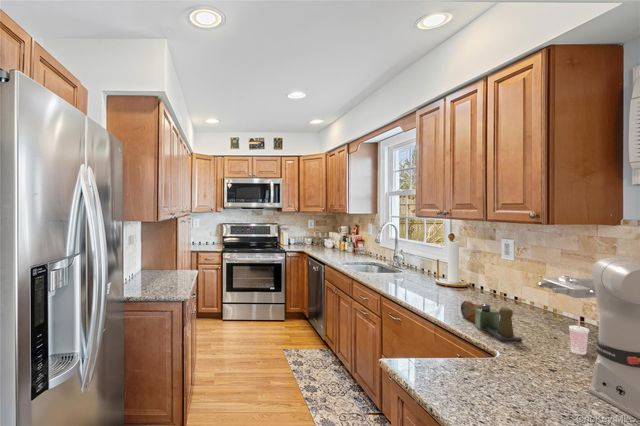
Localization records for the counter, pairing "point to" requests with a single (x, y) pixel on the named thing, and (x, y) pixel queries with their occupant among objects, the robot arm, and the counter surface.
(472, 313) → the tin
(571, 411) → the counter surface
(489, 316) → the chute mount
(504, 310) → the cork
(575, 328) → the beverage cup
